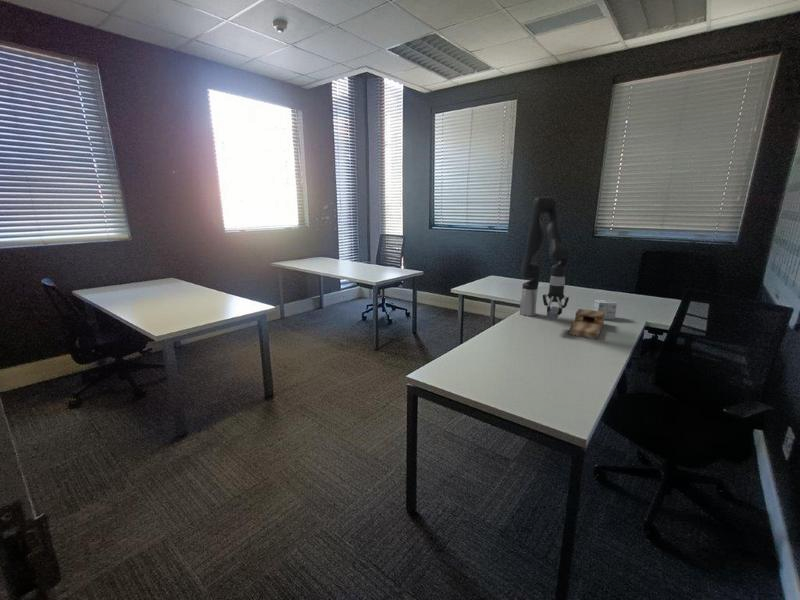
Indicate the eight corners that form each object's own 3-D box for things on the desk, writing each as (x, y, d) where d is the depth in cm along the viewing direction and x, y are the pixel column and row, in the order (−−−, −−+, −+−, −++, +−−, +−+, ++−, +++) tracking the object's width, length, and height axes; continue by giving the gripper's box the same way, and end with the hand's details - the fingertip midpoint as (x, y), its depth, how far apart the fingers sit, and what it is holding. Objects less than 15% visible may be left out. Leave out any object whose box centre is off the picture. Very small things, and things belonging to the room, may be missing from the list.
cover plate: (546, 317, 200) (546, 312, 199) (552, 311, 211) (552, 306, 211) (556, 318, 197) (556, 313, 197) (561, 312, 209) (561, 307, 208)
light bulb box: (610, 316, 230) (612, 299, 227) (615, 319, 223) (617, 302, 220) (592, 316, 231) (594, 299, 228) (597, 319, 224) (599, 302, 221)
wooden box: (568, 334, 199) (570, 321, 197) (577, 320, 223) (578, 308, 222) (597, 339, 192) (599, 326, 190) (603, 323, 216) (604, 312, 214)
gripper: (541, 283, 201) (539, 313, 205) (569, 286, 193) (566, 317, 197) (544, 281, 207) (542, 310, 211) (572, 284, 199) (569, 313, 203)
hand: (554, 313), depth 204 cm, fingers closed on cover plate, 5 cm apart
